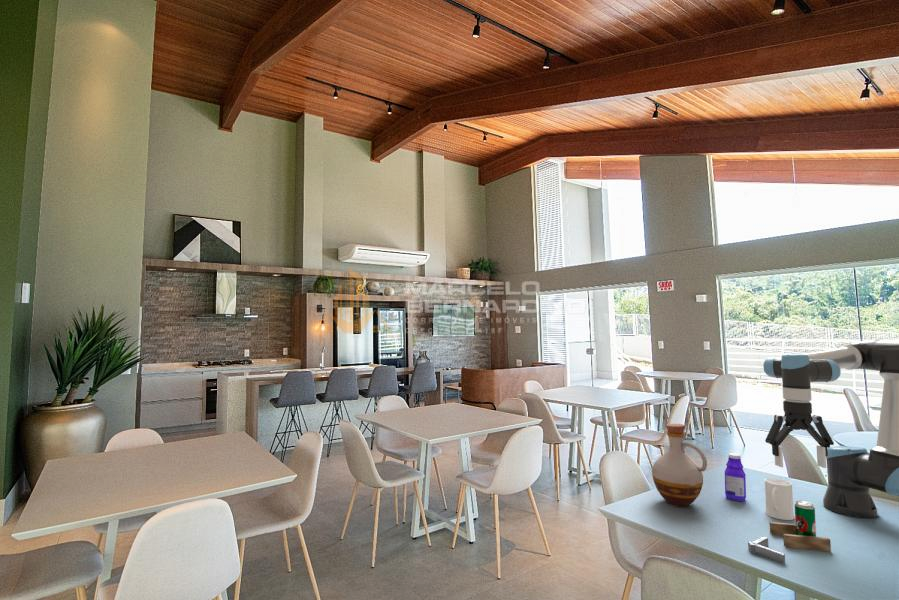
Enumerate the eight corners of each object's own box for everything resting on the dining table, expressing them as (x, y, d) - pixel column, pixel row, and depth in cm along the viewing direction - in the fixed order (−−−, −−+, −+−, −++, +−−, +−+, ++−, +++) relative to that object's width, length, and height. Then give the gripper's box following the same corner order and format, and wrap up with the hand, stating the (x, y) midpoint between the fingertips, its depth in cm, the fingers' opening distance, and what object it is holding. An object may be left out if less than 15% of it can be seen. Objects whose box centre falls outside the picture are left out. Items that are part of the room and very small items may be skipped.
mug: (785, 524, 156) (784, 488, 157) (757, 516, 163) (756, 482, 164) (798, 516, 163) (796, 482, 164) (770, 509, 170) (769, 476, 171)
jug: (715, 504, 175) (712, 424, 177) (702, 517, 162) (699, 432, 164) (661, 492, 188) (659, 418, 190) (645, 503, 175) (643, 424, 177)
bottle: (746, 498, 181) (744, 453, 182) (746, 503, 176) (744, 457, 177) (725, 495, 185) (723, 451, 186) (724, 499, 180) (723, 454, 181)
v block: (767, 545, 141) (766, 536, 141) (786, 564, 129) (786, 555, 129) (741, 542, 143) (741, 534, 143) (758, 561, 131) (758, 552, 131)
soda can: (817, 547, 139) (815, 507, 140) (797, 543, 142) (795, 504, 143) (815, 541, 144) (813, 502, 145) (795, 537, 146) (793, 499, 147)
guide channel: (811, 536, 147) (811, 525, 147) (831, 551, 137) (830, 539, 137) (770, 532, 150) (769, 521, 150) (785, 547, 140) (785, 535, 140)
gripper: (827, 399, 154) (830, 463, 152) (751, 398, 155) (754, 462, 153) (845, 402, 146) (849, 470, 145) (765, 402, 147) (768, 469, 146)
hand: (800, 466), depth 149 cm, fingers open, 13 cm apart
